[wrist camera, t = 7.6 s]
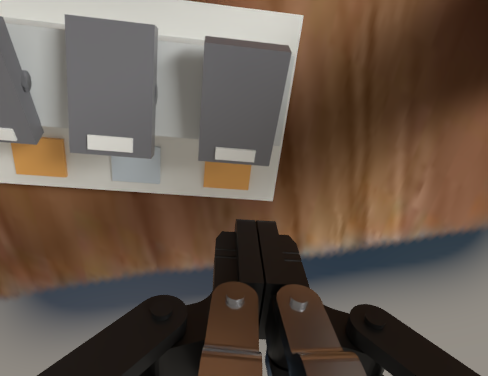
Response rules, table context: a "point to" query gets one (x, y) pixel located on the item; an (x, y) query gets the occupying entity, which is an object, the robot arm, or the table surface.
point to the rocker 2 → (241, 99)
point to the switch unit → (168, 102)
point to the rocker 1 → (16, 97)
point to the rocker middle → (111, 86)
